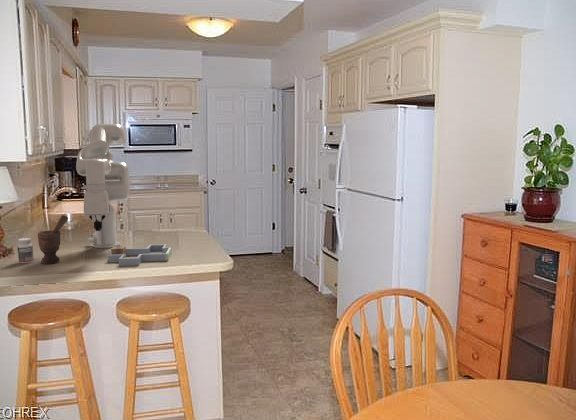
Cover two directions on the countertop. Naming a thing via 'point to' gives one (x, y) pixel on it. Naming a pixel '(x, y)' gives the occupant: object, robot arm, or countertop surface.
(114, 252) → the block
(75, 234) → the countertop surface
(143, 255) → the box
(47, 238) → the mortar and pestle
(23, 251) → the pill bottle
